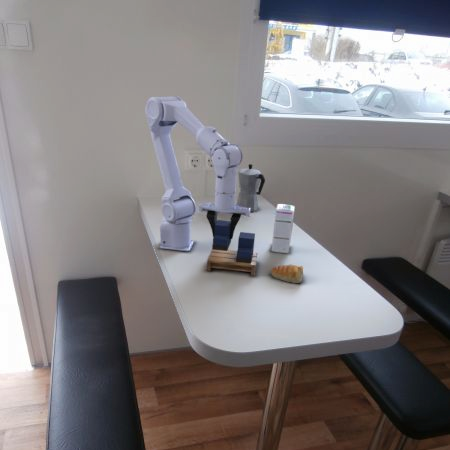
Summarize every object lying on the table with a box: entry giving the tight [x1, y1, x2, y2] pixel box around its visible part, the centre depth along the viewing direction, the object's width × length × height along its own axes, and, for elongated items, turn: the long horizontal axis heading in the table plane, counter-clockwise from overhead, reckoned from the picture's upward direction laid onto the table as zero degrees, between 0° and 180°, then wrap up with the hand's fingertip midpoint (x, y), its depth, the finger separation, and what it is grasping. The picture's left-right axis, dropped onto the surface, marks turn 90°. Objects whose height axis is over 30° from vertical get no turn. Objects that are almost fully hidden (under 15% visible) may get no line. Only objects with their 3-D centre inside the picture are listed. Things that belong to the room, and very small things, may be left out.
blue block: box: [211, 219, 232, 251], centre depth 118 cm, size 7×4×6 cm, turn 170°
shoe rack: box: [206, 248, 258, 277], centre depth 121 cm, size 14×9×4 cm, turn 82°
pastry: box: [270, 264, 304, 284], centre depth 118 cm, size 9×7×4 cm
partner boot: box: [236, 231, 256, 263], centre depth 119 cm, size 7×4×6 cm, turn 172°
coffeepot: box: [236, 163, 266, 213], centre depth 164 cm, size 15×9×18 cm, turn 37°
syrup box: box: [271, 203, 296, 254], centre depth 132 cm, size 6×6×14 cm
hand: (223, 236), depth 119 cm, fingers closed on blue block, 4 cm apart
